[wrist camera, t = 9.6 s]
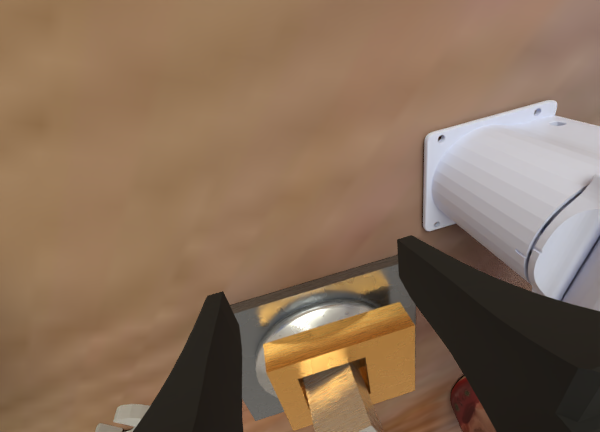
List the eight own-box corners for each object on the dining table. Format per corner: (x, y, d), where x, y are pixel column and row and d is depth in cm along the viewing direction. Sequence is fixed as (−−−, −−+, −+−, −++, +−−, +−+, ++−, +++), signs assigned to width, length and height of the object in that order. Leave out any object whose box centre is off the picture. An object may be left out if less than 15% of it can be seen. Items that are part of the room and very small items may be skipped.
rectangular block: (339, 338, 26) (371, 425, 20) (355, 359, 28) (388, 444, 22) (298, 358, 27) (318, 450, 21) (317, 378, 29) (341, 467, 23)
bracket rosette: (409, 251, 26) (441, 288, 22) (410, 360, 34) (433, 400, 30) (199, 314, 24) (194, 365, 21) (254, 411, 33) (258, 459, 29)
